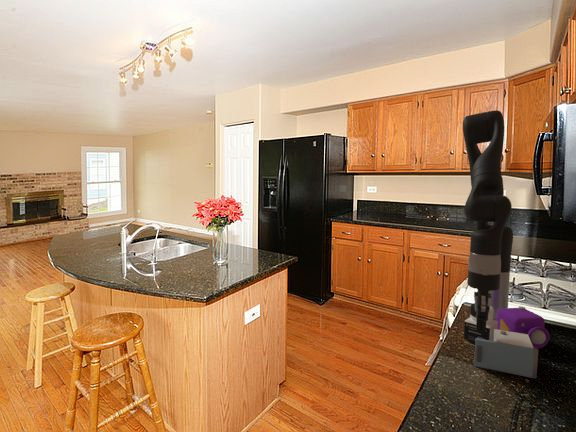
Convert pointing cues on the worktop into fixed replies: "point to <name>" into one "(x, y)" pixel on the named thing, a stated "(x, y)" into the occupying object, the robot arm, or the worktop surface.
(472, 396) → the worktop surface
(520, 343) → the camera case
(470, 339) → the medicine bottle
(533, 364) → the case door
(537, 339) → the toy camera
